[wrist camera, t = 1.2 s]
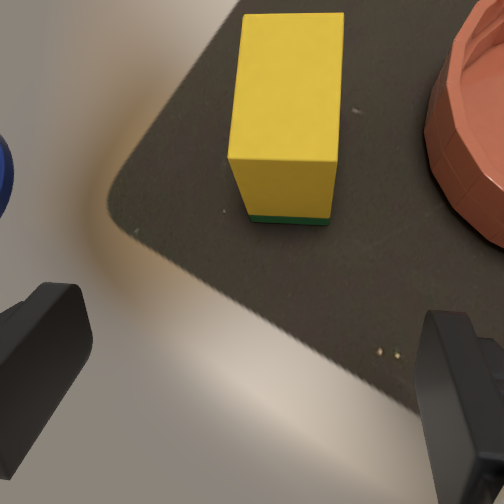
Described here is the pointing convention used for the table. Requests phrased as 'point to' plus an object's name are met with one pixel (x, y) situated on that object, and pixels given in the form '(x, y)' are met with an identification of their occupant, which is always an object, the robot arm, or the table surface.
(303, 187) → the sponge
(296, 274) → the table surface
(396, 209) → the table surface
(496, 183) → the bowl
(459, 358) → the robot arm
